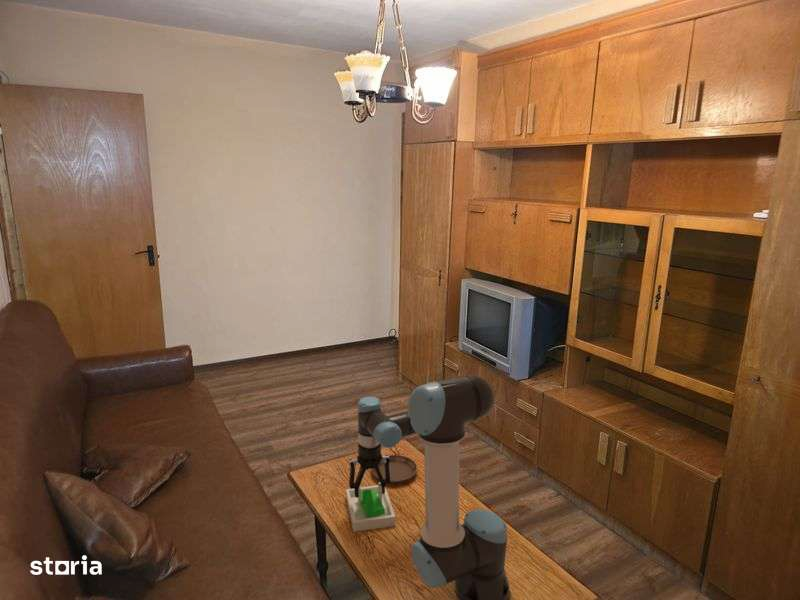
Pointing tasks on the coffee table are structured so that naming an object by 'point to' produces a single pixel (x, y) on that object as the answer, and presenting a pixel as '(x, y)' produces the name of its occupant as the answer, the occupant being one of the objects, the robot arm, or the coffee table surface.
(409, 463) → the plant saucer
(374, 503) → the mechanical part
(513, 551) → the coffee table surface
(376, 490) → the tray
